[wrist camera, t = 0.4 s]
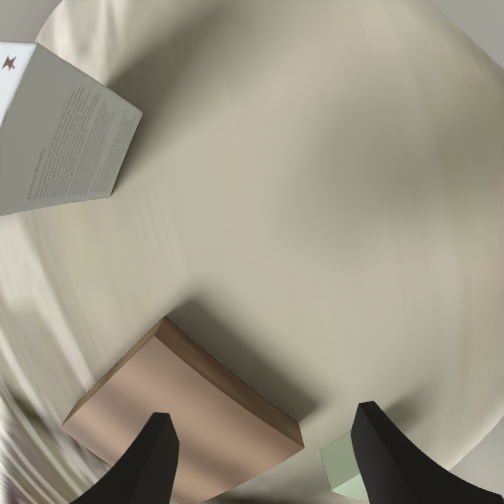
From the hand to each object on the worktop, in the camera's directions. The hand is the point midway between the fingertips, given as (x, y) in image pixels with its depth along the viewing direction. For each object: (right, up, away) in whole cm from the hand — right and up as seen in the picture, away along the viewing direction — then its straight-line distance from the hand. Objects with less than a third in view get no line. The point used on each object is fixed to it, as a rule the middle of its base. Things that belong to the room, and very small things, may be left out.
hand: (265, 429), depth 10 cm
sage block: (+9, -12, +13) cm, 20 cm away
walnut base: (-7, -7, +12) cm, 15 cm away
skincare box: (-10, +14, +7) cm, 19 cm away
